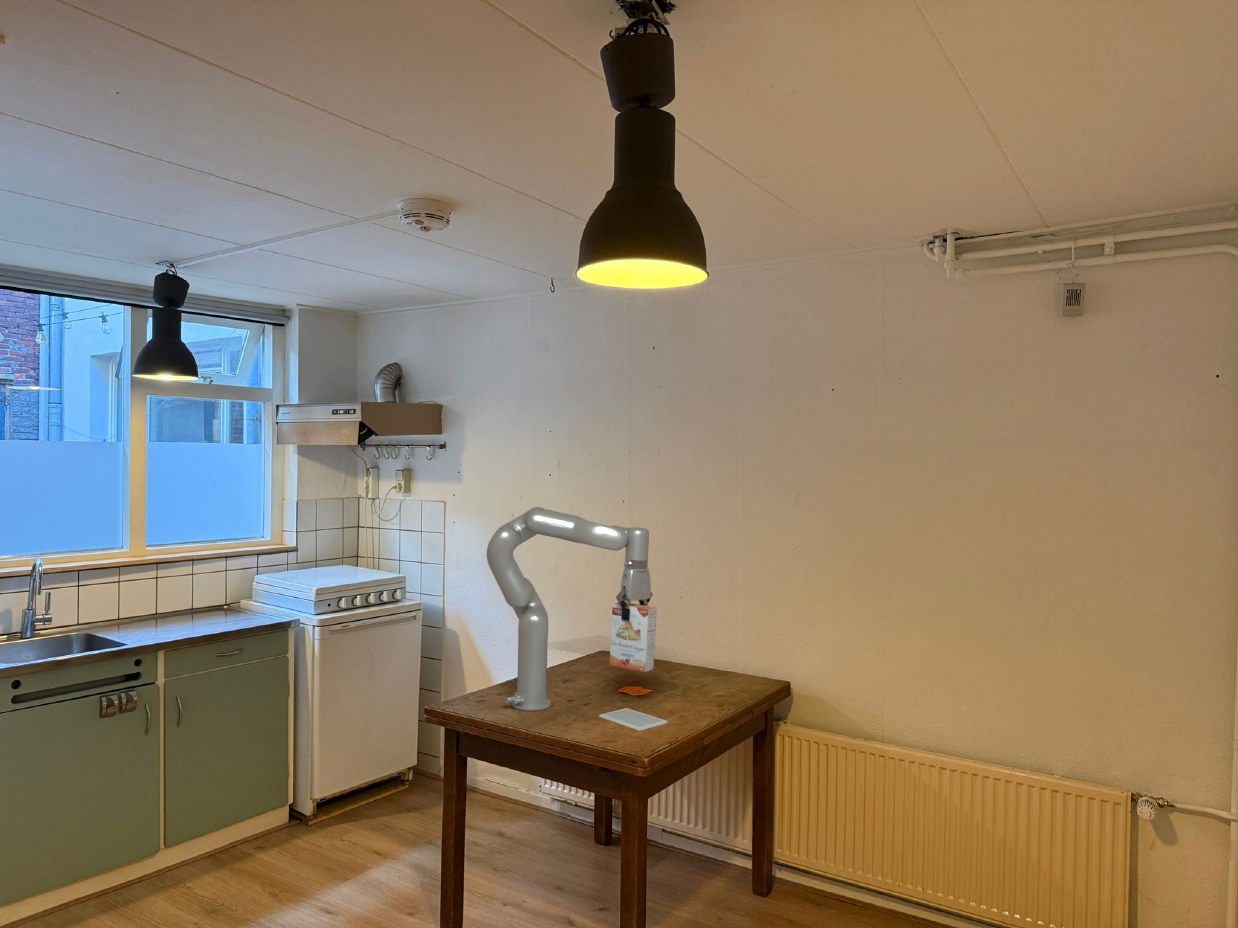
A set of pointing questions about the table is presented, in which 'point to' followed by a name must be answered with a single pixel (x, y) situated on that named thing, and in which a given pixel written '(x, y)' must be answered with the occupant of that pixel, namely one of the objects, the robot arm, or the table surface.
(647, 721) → the plate
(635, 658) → the cracker box
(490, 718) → the table surface
